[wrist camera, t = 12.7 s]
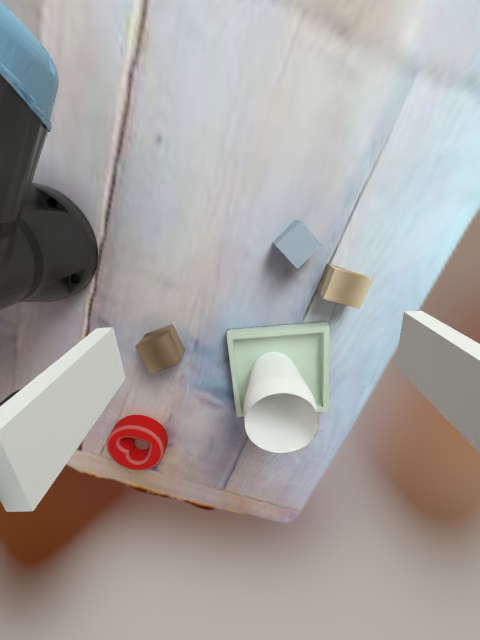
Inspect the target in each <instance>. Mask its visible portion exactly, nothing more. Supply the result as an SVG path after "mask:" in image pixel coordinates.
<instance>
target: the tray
mask: <svg viewBox="0 0 480 640" xmlns="http://www.w3.org/2000/svg"><path fill="white" fill-rule="evenodd" d="M329 339H330V326H329V325H328V323H327V322H326V321H324V322H312V323H299V324H287V325H275V326H262V327H250V328H238V329H227V343H228V351H229V359H230V367H231V375H232V383H233V391H234V399H235V407H236V415H237V417H244V400H245V396H246V392H247V388H248V384H249V379H250V375H251V371H252V367H253V364H254V362H255V361H256V360H257V359H258V358H259V357H260V356H262V355H263V354H266V353H270V352H278V353H282V354H284V355H286V356H288V357H289V358H290V359H291V360H292V362H293V363H294V365H295V367H296V368H297V370H298V372H299V373H300V375H301V376H302V378H303V380H304V381H305V383H306V384H307V386H308V388H309V389H310V391H311V393H312V395H313V397H314V400H315V404H316V408H317V412H328V410H329Z"/></svg>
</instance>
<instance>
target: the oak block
mask: <svg viewBox="0 0 480 640" xmlns="http://www.w3.org/2000/svg"><path fill="white" fill-rule="evenodd" d="M371 282H372V279H371V278H369V277H367V276H365V275H363V274H361V273H358V272H355V271H351V270H348V269H344V268H341V267H337V266H334V265H330V264H327V265H326V268H325V270H324V273H323V276H322V278H321V281H320V283H319V286H318V289H317V292H318V293H319V294H320V296H321V297H322V298H323V299H326V300H329V301H333V302H337V303H340V304H344V305H347V306H351V307H355V308H358V309H360V307H361V305H362V303H363V300H364V298H365V296H366V294H367V291H368V289H369V287H370V285H371Z"/></svg>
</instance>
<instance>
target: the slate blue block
mask: <svg viewBox="0 0 480 640" xmlns="http://www.w3.org/2000/svg"><path fill="white" fill-rule="evenodd" d="M273 243H274V244H275V246H276V247H277V248H278V249H279V250H280V251H281V252H282V253H283V254H284V255H285V256H286V257H287V259H288V260H289V261H290V262H291V263H292V264H293V265H294V266H295V267H296V268H297V269H298V268H299V267H300V266H301V265H302V264H303V263H305V262H306V261H307V260H308V259H309V258H310V257H311V256H312V255H313V254H314V253H315V252H316V251H317V250H318V249H320V248H321V247H322V244H321V243H320V242H319V241H318V240H317V239H316V238H315V237H314V235H313V234H312V233H311V232H310V231H309V230H308V229H307V227H306V226H305V225H304V224H303V223H302V222H301V221H298V220H295V221H294V222H293V223H292V224H291V225H290V226H289V227H288V228H287V229H286V230H285V231H284V232H283V233H282V234H281V235H280V236H279V237H278V238H277V239H276V240H275V241H274V242H273Z"/></svg>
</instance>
